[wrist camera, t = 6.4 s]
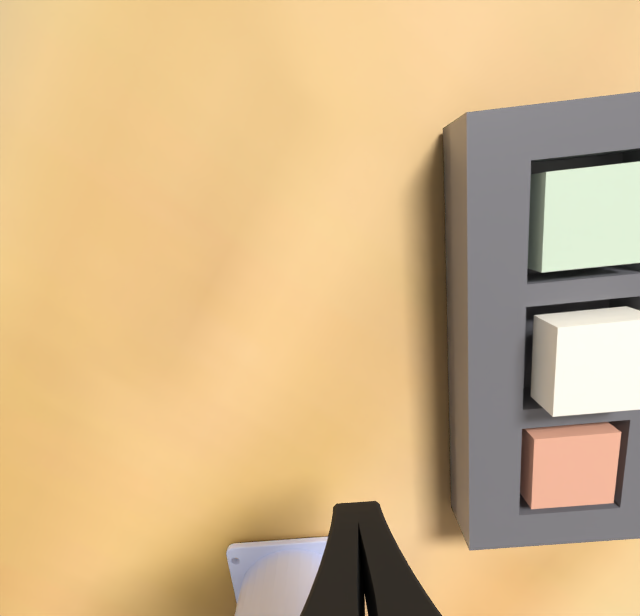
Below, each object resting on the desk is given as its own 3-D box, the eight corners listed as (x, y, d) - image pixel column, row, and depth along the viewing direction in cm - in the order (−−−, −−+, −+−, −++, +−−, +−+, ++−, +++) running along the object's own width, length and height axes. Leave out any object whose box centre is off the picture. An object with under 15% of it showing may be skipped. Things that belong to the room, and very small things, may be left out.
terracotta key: (589, 477, 20) (613, 503, 19) (513, 483, 21) (531, 509, 19) (594, 412, 19) (621, 432, 18) (515, 418, 20) (534, 439, 18)
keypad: (621, 493, 22) (666, 536, 19) (451, 506, 23) (469, 550, 20) (667, 101, 17) (738, 80, 14) (442, 128, 17) (466, 112, 14)
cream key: (617, 388, 18) (649, 408, 16) (530, 396, 18) (552, 416, 16) (626, 306, 17) (661, 317, 15) (533, 315, 17) (557, 327, 15)
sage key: (608, 257, 17) (640, 262, 16) (520, 266, 17) (541, 272, 16) (616, 165, 16) (651, 160, 15) (522, 175, 16) (546, 172, 15)
